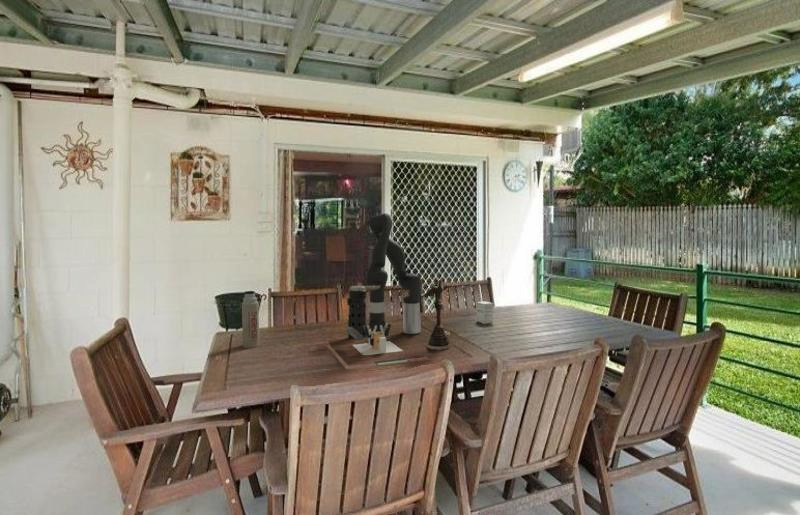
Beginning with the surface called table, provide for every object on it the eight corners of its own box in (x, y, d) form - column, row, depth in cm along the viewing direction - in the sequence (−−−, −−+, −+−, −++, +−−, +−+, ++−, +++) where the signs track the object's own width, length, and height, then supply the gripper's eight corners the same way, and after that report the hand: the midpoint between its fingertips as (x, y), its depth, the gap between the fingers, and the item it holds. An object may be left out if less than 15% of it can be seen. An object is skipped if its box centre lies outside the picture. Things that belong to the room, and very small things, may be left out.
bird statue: (414, 344, 238) (414, 276, 235) (434, 340, 245) (434, 275, 243) (433, 351, 225) (434, 280, 222) (454, 347, 232) (455, 278, 229)
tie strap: (352, 330, 230) (352, 326, 230) (363, 339, 213) (363, 335, 213) (346, 331, 229) (346, 327, 229) (356, 340, 212) (356, 336, 211)
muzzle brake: (349, 340, 245) (368, 339, 248) (348, 288, 243) (368, 287, 246) (346, 336, 254) (364, 334, 257) (345, 285, 252) (364, 285, 255)
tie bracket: (389, 343, 238) (389, 327, 238) (403, 353, 221) (403, 336, 220) (352, 347, 231) (352, 331, 230) (363, 358, 213) (363, 340, 213)
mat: (399, 356, 217) (399, 354, 217) (407, 362, 208) (407, 360, 208) (371, 359, 212) (371, 357, 212) (378, 365, 203) (378, 363, 203)
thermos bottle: (260, 346, 233) (259, 291, 231) (244, 348, 229) (242, 293, 227) (257, 342, 240) (256, 289, 238) (241, 344, 236) (240, 290, 234)
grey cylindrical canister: (476, 321, 290) (476, 301, 289) (486, 320, 294) (486, 301, 292) (483, 324, 284) (483, 303, 283) (493, 322, 287) (493, 302, 286)
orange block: (380, 345, 229) (380, 332, 228) (385, 349, 222) (385, 335, 221) (371, 346, 227) (371, 332, 226) (376, 350, 220) (376, 336, 220)
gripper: (388, 308, 230) (388, 341, 232) (360, 310, 225) (361, 344, 227) (393, 311, 223) (393, 345, 225) (365, 313, 218) (365, 348, 220)
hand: (377, 344), depth 226 cm, fingers closed on orange block, 4 cm apart
